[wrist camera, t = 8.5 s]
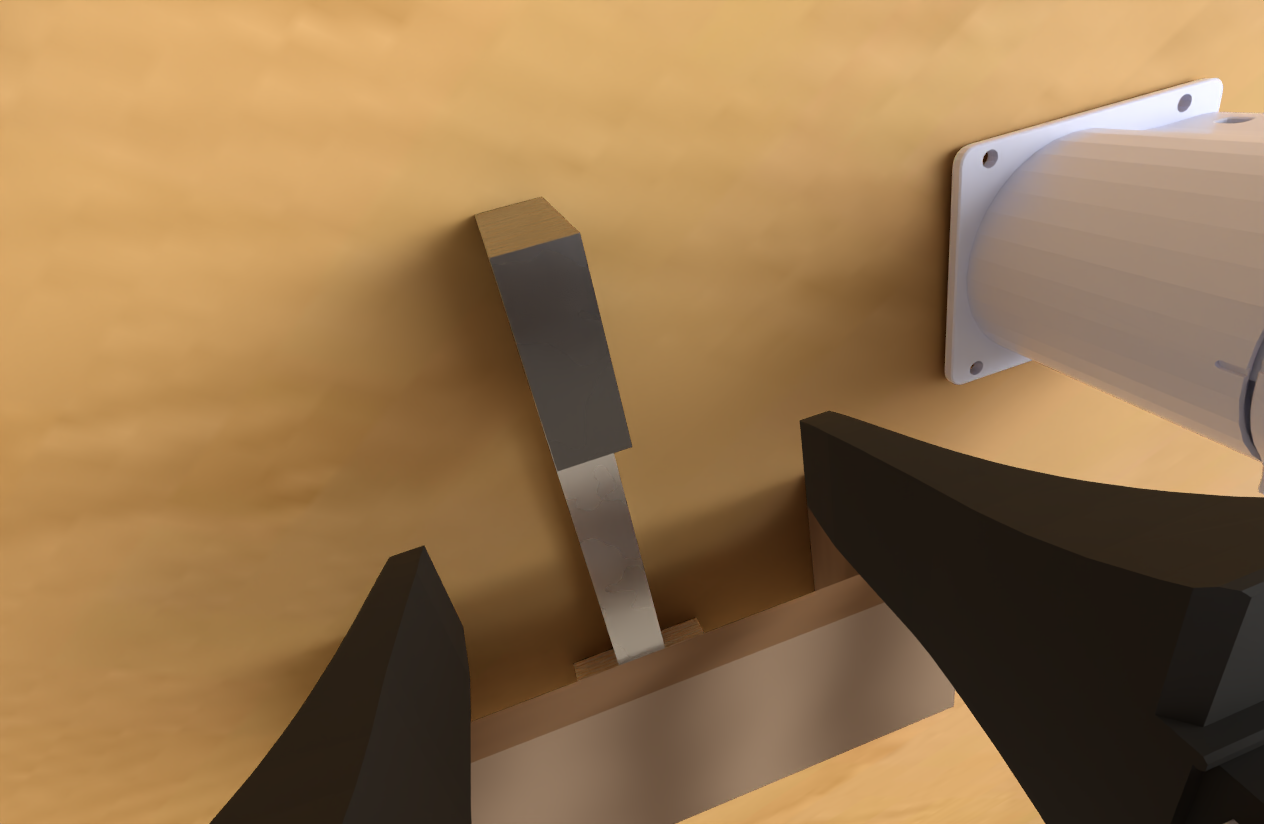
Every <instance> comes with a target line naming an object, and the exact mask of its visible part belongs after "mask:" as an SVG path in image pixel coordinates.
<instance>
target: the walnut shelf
mask: <svg viewBox="0 0 1264 824" xmlns="http://www.w3.org/2000/svg"><path fill="white" fill-rule="evenodd" d="M805 486H806V485H805ZM806 498H807V496H806ZM807 509H808V520H809V531H810V542H811V553H812V565H813V576H814V587H815V591H814V592H812V593H809V594H807V595H804V596H801V597H799V598H796V599H793V600H791V601H788V602H785V603H783V604H780V605H778V606H775V607H772V608H770V609H767V610H764V611H762V612H759V613H756V614H754V615H751V616H749V617H746V618H743V619H741V620H738V621H735V622H733V623H730V624H727V625H725V626H722V627H720V628H717V629H714V630H712V631H709V632H706V633H704V634H701V635H698V636H696V637H693V638H691V639H688V640H685V641H683V642H680V643H677V644H675V645H672V646H669V647H667V648H664V649H662V650H659V651H656V652H654V653H651V654H648V655H646V656H643V657H640V658H638V659H635V660H633V661H630V662H627V663H625V664H622V665H619V666H617V667H614V668H611V669H609V670H606V671H604V672H601V673H598V674H596V675H593V676H590V677H588V678H585V679H582V680H580V681H577V682H575V683H572V684H569V685H567V686H564V687H561V688H559V689H556V690H553V691H551V692H548V693H546V694H543V695H540V696H538V697H535V698H532V699H530V700H527V701H524V702H522V703H519V704H517V705H514V706H511V707H509V708H506V709H503V710H501V711H498V712H495V713H493V714H490V715H488V716H485V717H482V718H480V719H477V720H474V721H472V722H471V820H472V824H675V823H678V822H680V821H683V820H685V819H687V818H690V817H692V816H694V815H697V814H699V813H702V812H704V811H706V810H709V809H711V808H713V807H716V806H718V805H720V804H723V803H725V802H728V801H730V800H732V799H735V798H737V797H739V796H742V795H744V794H747V793H749V792H751V791H754V790H756V789H758V788H761V787H763V786H766V785H768V784H770V783H773V782H775V781H777V780H780V779H782V778H785V777H787V776H789V775H792V774H794V773H796V772H799V771H801V770H804V769H806V768H808V767H811V766H813V765H815V764H818V763H820V762H823V761H825V760H827V759H830V758H832V757H834V756H837V755H839V754H842V753H844V752H846V751H849V750H851V749H853V748H856V747H858V746H861V745H863V744H865V743H868V742H870V741H872V740H875V739H877V738H880V737H882V736H884V735H887V734H889V733H891V732H894V731H896V730H899V729H901V728H903V727H906V726H908V725H910V724H913V723H915V722H918V721H920V720H922V719H925V718H927V717H929V716H932V715H934V714H937V713H939V712H941V711H944V710H946V709H948V708H951V707H953V706H954V695H955V689H954V687H953V686H952V684H951V683H950V682H949V680H948V679H947V678H946V676H945V675H944V673H943V672H942V671H941V669H940V668H939V667H938V665H937V664H936V662H935V661H934V660H933V658H932V657H931V656H930V654H929V653H928V652H927V651H926V649H925V648H924V647H923V646H922V645H921V643H920V642H919V641H918V640H917V638H916V637H915V636H914V635H913V634H912V632H911V631H910V630H909V629H908V628H907V627H906V626H905V625H904V624H903V622H902V621H901V620H900V619H899V618H898V617H897V616H896V615H895V614H894V612H893V611H892V610H891V609H890V608H889V607H888V606H887V605H886V604H885V602H884V601H883V600H882V599H881V598H880V597H879V596H878V595H877V594H876V592H875V591H874V590H873V589H872V588H871V587H870V586H869V585H868V584H867V582H866V581H865V580H864V579H863V578H862V577H861V576H860V575H859V573H858V572H857V571H856V570H855V569H854V568H853V567H852V566H851V564H850V563H849V562H848V561H847V560H846V559H845V558H844V556H843V555H842V554H841V553H840V552H839V551H838V550H837V548H836V547H835V546H834V545H833V543H832V542H831V540H830V539H829V537H828V536H827V534H826V533H825V532H824V530H823V529H822V527H821V526H820V524H819V523H818V521H817V520H816V518H815V516H814V515H813V513H812V512H811V510H810V509H809V507H808V506H807Z"/></svg>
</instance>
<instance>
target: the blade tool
mask: <svg viewBox="0 0 1264 824" xmlns="http://www.w3.org/2000/svg"><path fill="white" fill-rule="evenodd" d="M475 218H476V222H477V225H478V228H479V231H480V234H481V237H482V240H483V243H484V247H485V250H486V253H487V256H488V259H489V262H490V265H491V268H492V271H493V275H494V278H495V281H496V284H497V287H498V290H499V293H500V296H501V300H502V303H503V306H504V309H505V312H506V315H507V318H508V321H509V324H510V328H511V331H512V334H513V337H514V340H515V343H516V346H517V349H518V353H519V356H520V359H521V362H522V365H523V368H524V371H525V374H526V377H527V381H528V384H529V387H530V390H531V393H532V396H533V399H534V402H535V406H536V409H537V412H538V415H539V418H540V421H541V424H542V427H543V430H544V434H545V437H546V440H547V443H548V446H549V449H550V452H551V455H552V458H553V462H554V465H555V468H556V471H557V474H558V477H559V480H560V483H561V487H562V490H563V493H564V496H565V499H566V502H567V505H568V508H569V511H570V515H571V518H572V521H573V524H574V527H575V530H576V533H577V536H578V540H579V543H580V546H581V549H582V552H583V555H584V558H585V561H586V564H587V568H588V571H589V574H590V577H591V580H592V583H593V586H594V589H595V593H596V596H597V599H598V602H599V605H600V608H601V611H602V614H603V617H604V621H605V624H606V627H607V630H608V633H609V636H610V639H611V642H612V646H613V649H611V650H608V651H606V652H603V653H600V654H598V655H595V656H592V657H590V658H587V659H584V660H582V661H579V662H576V663H574V669H575V673H576V677H577V681H580V680H582V679H585V678H588V677H590V676H593V675H596V674H598V673H601V672H604V671H606V670H609V669H611V668H614V667H617V666H619V665H622V664H625V663H627V662H630V661H633V660H635V659H638V658H640V657H643V656H646V655H648V654H651V653H654V652H656V651H659V650H662V649H664V648H667V647H669V646H672V645H675V644H677V643H680V642H683V641H685V640H688V639H691V638H693V637H696V636H698V635H701V634H704V631H703V629H702V627H701V625H700V623H699V621H698V619H697V617H696V618H693V619H691V620H688V621H685V622H683V623H680V624H677V625H675V626H672V627H669V628H667V629H664V630H661V631H660V627H659V623H658V619H657V615H656V612H655V608H654V604H653V600H652V596H651V593H650V589H649V585H648V581H647V577H646V574H645V570H644V566H643V562H642V558H641V555H640V551H639V547H638V543H637V539H636V536H635V532H634V528H633V524H632V520H631V517H630V513H629V509H628V505H627V501H626V498H625V494H624V490H623V486H622V482H621V479H620V475H619V471H618V467H617V463H616V460H615V456H614V453H615V452H618V451H621V450H624V449H627V448H630V447H632V444H631V440H630V436H629V431H628V427H627V423H626V419H625V415H624V411H623V407H622V403H621V399H620V395H619V391H618V386H617V382H616V378H615V374H614V370H613V366H612V362H611V358H610V354H609V350H608V346H607V341H606V337H605V333H604V329H603V325H602V321H601V317H600V313H599V309H598V305H597V301H596V296H595V292H594V288H593V284H592V280H591V276H590V272H589V268H588V264H587V260H586V256H585V251H584V247H583V243H582V239H581V235H580V232H578V231H577V230H576V229H575V228H574V227H573V226H572V225H571V224H570V223H569V222H568V221H567V220H566V219H565V218H564V217H563V216H562V215H561V214H560V213H558V212H557V211H556V210H555V209H554V208H553V207H552V206H551V205H550V204H549V203H548V202H547V201H546V200H545V199H544V198H543V197H539V198H536V199H532V200H528V201H524V202H521V203H517V204H513V205H509V206H506V207H502V208H498V209H494V210H491V211H487V212H483V213H479V214H476V215H475Z"/></svg>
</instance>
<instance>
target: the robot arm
mask: <svg viewBox="0 0 1264 824" xmlns="http://www.w3.org/2000/svg"><path fill="white" fill-rule="evenodd" d="M1222 92H1223V85H1222V82H1221V80H1220V79H1218V78H1202V79H1199V80H1195V81H1191V82H1188V83H1184V84H1181V85H1177V86H1174V87H1170V88H1167V89H1163V90H1160V91H1156V92H1152V93H1149V94H1145V95H1142V96H1138V97H1135V98H1131V99H1128V100H1124V101H1121V102H1117V103H1113V104H1110V105H1106V106H1103V107H1099V108H1096V109H1092V110H1089V111H1085V112H1081V113H1078V114H1074V115H1071V116H1067V117H1064V118H1060V119H1057V120H1053V121H1050V122H1046V123H1042V124H1039V125H1035V126H1032V127H1028V128H1025V129H1021V130H1018V131H1014V132H1011V133H1007V134H1003V135H1000V136H996V137H993V138H989V139H986V140H982V141H979V142H975V143H972V144H968V145H966V146H964V147H962V148H961V149H960V150H959V151H958V152H957V154H956V156H955V158H954V161H953V168H952V194H951V220H950V246H949V272H948V298H947V324H946V350H945V377H946V379H947V380H948V381H950V382H952V383H954V384H957V385H960V384H965V383H967V382H970V381H973V380H976V379H979V378H982V377H985V376H988V375H991V374H994V373H997V372H1000V371H1003V370H1006V369H1008V368H1011V367H1014V366H1017V365H1020V364H1023V363H1026V362H1029V361H1032V360H1033V361H1036V362H1038V363H1040V364H1042V365H1045V366H1047V367H1049V368H1051V369H1054V370H1056V371H1058V372H1060V373H1062V374H1065V375H1067V376H1069V377H1071V378H1074V379H1076V380H1078V381H1080V382H1083V383H1085V384H1087V385H1089V386H1092V387H1094V388H1096V389H1098V390H1101V391H1103V392H1105V393H1107V394H1110V395H1112V396H1114V397H1116V398H1119V399H1121V400H1123V401H1125V402H1127V403H1130V404H1132V405H1134V406H1136V407H1139V408H1141V409H1143V410H1145V411H1148V412H1150V413H1152V414H1154V415H1157V416H1159V417H1161V418H1163V419H1166V420H1168V421H1170V422H1172V423H1175V424H1177V425H1179V426H1181V427H1184V428H1186V429H1188V430H1190V431H1192V432H1195V433H1197V434H1199V435H1201V436H1204V437H1206V438H1208V439H1210V440H1213V441H1215V442H1217V443H1219V444H1222V445H1224V446H1226V447H1228V448H1231V449H1233V450H1235V451H1237V452H1240V453H1242V454H1244V455H1246V456H1249V457H1251V458H1253V459H1255V460H1257V461H1260V462H1262V464H1263V471H1262V478H1261V481H1260V484H1259V488H1258V490H1259V492H1260V493H1262V494H1264V113H1241V112H1218V110H1219V106H1220V101H1221V97H1222ZM986 152H988V158H987V161H986V162H985V164H984V165H983V162H982V161H983V157H984V155H985V154H986ZM973 363H974V366H973V367H972V368H971V366H972V365H973ZM970 368H971V369H970ZM800 429H801V440H802V452H803V463H804V474H805V485H806V496H807V506H808V507H809V509H810V510H811V512H812V513H813V515H814V516H815V518H816V520H817V521H818V523H819V524H820V526H821V527H822V529H823V530H824V532H825V533H826V534H827V536H828V537H829V539H830V540H831V542H832V543H833V545H834V546H835V547H836V548H837V550H838V551H839V552H840V553H841V554H842V555H843V556H844V558H845V559H846V560H847V561H848V562H849V563H850V564H851V566H852V567H853V568H854V569H855V570H856V571H857V572H858V573H859V575H860V576H861V577H862V578H863V579H864V580H865V581H866V582H867V584H868V585H869V586H870V587H871V588H872V589H873V590H874V591H875V592H876V594H877V595H878V596H879V597H880V598H881V599H882V600H883V601H884V602H885V604H886V605H887V606H888V607H889V608H890V609H891V610H892V611H893V612H894V614H895V615H896V616H897V617H898V618H899V619H900V620H901V621H902V622H903V624H904V625H905V626H906V627H907V628H908V629H909V630H910V631H911V632H912V634H913V635H914V636H915V637H916V638H917V640H918V641H919V642H920V643H921V645H922V646H923V647H924V648H925V649H926V651H927V652H928V653H929V654H930V656H931V657H932V658H933V660H934V661H935V662H936V664H937V665H938V667H939V668H940V669H941V671H942V672H943V673H944V675H945V676H946V678H947V679H948V680H949V682H950V683H951V684H952V686H953V687H954V689H955V690H956V691H957V693H958V694H959V695H960V697H961V698H962V699H963V701H964V702H965V704H966V705H967V707H968V708H969V710H970V711H971V712H972V714H973V715H974V717H975V718H976V720H977V721H978V723H979V724H980V725H981V727H982V728H983V730H984V731H985V733H986V734H987V735H988V737H989V738H990V740H991V741H992V743H993V744H994V746H995V747H996V748H997V750H998V751H999V753H1000V754H1001V756H1002V757H1003V759H1004V761H1005V762H1006V764H1007V765H1008V767H1009V768H1010V770H1011V771H1012V773H1013V774H1014V776H1015V777H1016V779H1017V780H1018V782H1019V783H1020V785H1021V786H1022V788H1023V789H1024V791H1025V792H1026V794H1027V796H1028V797H1029V799H1030V800H1031V802H1032V803H1033V805H1034V806H1035V808H1036V809H1037V811H1038V812H1039V814H1040V816H1041V817H1042V819H1043V820H1044V822H1045V824H1264V498H1263V497H1233V496H1218V495H1205V494H1192V493H1179V492H1168V491H1158V490H1149V489H1139V488H1132V487H1124V486H1117V485H1110V484H1103V483H1096V482H1089V481H1083V480H1077V479H1071V478H1065V477H1059V476H1054V475H1050V474H1045V473H1040V472H1035V471H1030V470H1025V469H1021V468H1016V467H1012V466H1007V465H1003V464H999V463H995V462H991V461H988V460H984V459H980V458H977V457H973V456H970V455H966V454H962V453H959V452H955V451H952V450H949V449H945V448H942V447H939V446H936V445H932V444H929V443H926V442H923V441H920V440H917V439H914V438H911V437H908V436H905V435H902V434H899V433H896V432H893V431H890V430H887V429H884V428H881V427H878V426H876V425H873V424H870V423H867V422H864V421H861V420H858V419H855V418H852V417H849V416H845V415H842V414H839V413H835V412H831V411H827V412H824V413H821V414H818V415H815V416H812V417H809V418H806V419H803V420H800ZM210 824H472V820H471V705H470V674H469V666H468V658H467V651H466V644H465V637H464V630H463V626H462V624H461V621H460V619H459V617H458V615H457V613H456V611H455V609H454V607H453V605H452V603H451V601H450V598H449V596H448V594H447V592H446V590H445V588H444V586H443V584H442V582H441V580H440V577H439V575H438V573H437V571H436V569H435V567H434V565H433V563H432V561H431V559H430V557H429V554H428V552H427V550H426V548H425V546H421V547H418V548H415V549H412V550H409V551H406V552H403V553H400V554H397V555H394V556H391V557H389V559H388V561H387V563H386V564H385V566H384V568H383V570H382V571H381V573H380V575H379V577H378V578H377V580H376V582H375V584H374V586H373V588H372V589H371V591H370V593H369V595H368V597H367V599H366V601H365V602H364V604H363V606H362V608H361V610H360V612H359V613H358V615H357V617H356V619H355V621H354V622H353V624H352V626H351V628H350V629H349V631H348V633H347V635H346V636H345V638H344V640H343V641H342V643H341V645H340V647H339V648H338V650H337V652H336V654H335V655H334V657H333V659H332V660H331V662H330V663H329V665H328V666H327V668H326V670H325V671H324V673H323V674H322V676H321V677H320V679H319V681H318V682H317V684H316V685H315V687H314V688H313V690H312V692H311V693H310V695H309V696H308V698H307V699H306V701H305V703H304V704H303V705H302V707H301V708H300V710H299V711H298V713H297V714H296V716H295V717H294V718H293V720H292V721H291V723H290V724H289V725H288V727H287V728H286V730H285V731H284V732H283V734H282V735H281V736H280V738H279V739H278V740H277V742H276V743H275V744H274V746H273V747H272V748H271V750H270V751H269V752H268V754H267V755H266V756H265V758H264V759H263V760H262V761H261V763H260V764H259V765H258V767H257V768H256V769H255V770H254V772H253V773H252V774H251V775H250V777H249V778H248V779H247V780H246V781H245V783H244V784H243V785H242V786H241V787H240V789H239V790H238V791H237V792H236V793H235V794H234V796H233V797H232V798H231V799H230V800H229V801H228V803H227V804H226V805H225V806H224V807H223V808H222V810H221V811H220V812H219V813H218V814H217V815H216V817H215V818H214V819H213V820H212V821H211V823H210Z"/></svg>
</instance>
